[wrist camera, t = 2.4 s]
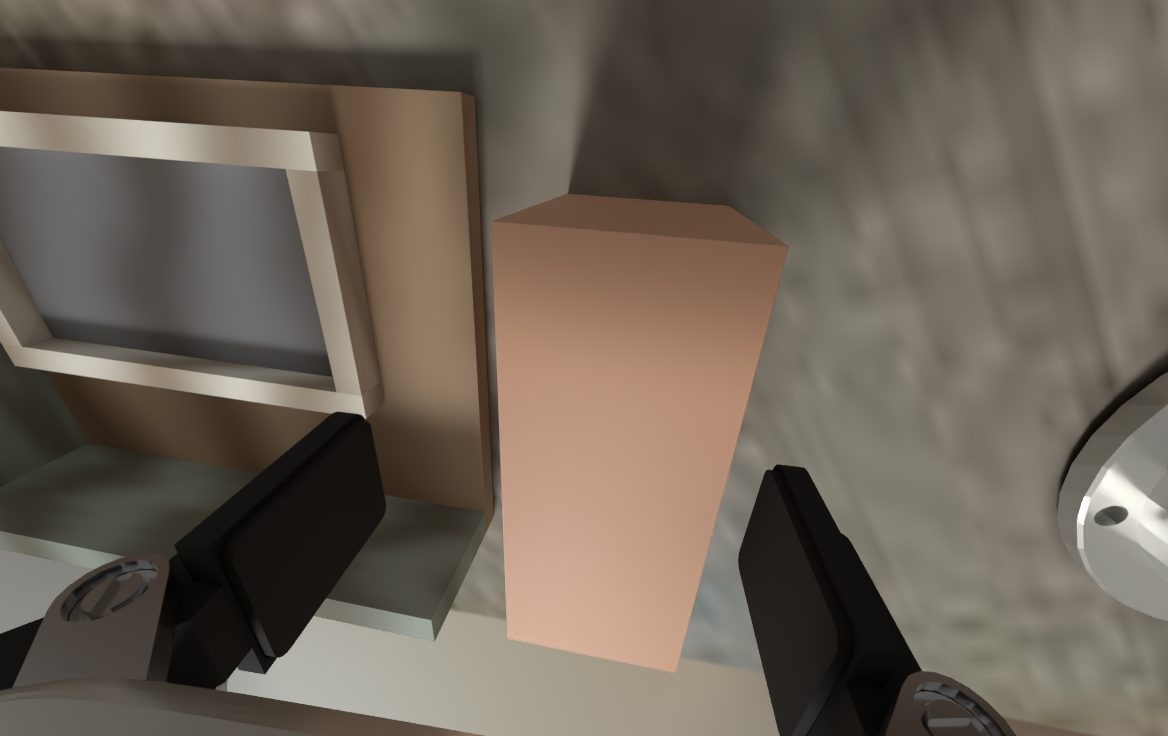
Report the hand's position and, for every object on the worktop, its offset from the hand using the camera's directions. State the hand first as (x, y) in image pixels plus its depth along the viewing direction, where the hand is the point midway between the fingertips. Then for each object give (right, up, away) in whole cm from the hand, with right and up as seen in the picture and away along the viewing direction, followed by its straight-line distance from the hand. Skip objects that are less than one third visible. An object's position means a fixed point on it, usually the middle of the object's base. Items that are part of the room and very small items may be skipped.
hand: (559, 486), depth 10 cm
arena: (-14, +5, +8) cm, 17 cm away
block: (+2, +3, +6) cm, 7 cm away
